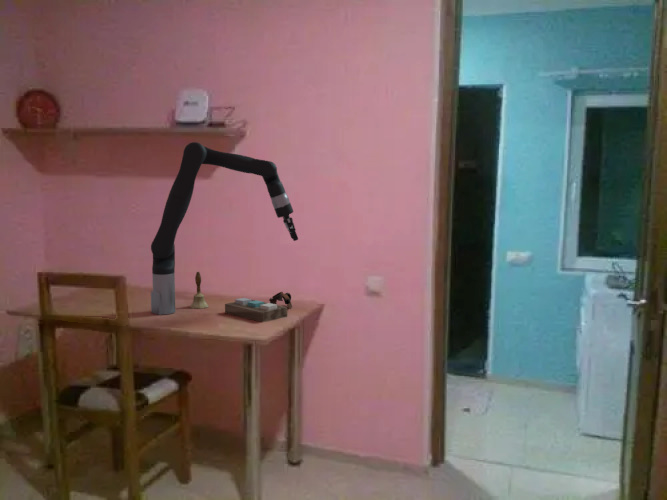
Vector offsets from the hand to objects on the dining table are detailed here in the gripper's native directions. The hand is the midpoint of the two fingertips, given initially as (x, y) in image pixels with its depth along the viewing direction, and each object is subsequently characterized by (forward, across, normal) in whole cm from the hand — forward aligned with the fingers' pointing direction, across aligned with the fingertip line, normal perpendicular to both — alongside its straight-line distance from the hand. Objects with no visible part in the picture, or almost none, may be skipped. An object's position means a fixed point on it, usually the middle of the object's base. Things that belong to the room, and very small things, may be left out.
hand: (295, 239), depth 271 cm
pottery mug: (+28, -4, -16) cm, 32 cm away
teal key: (+20, +9, -27) cm, 35 cm away
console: (+23, +9, -28) cm, 37 cm away
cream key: (+22, +15, -22) cm, 34 cm away
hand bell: (+14, -9, -51) cm, 54 cm away
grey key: (+18, +3, -32) cm, 36 cm away
